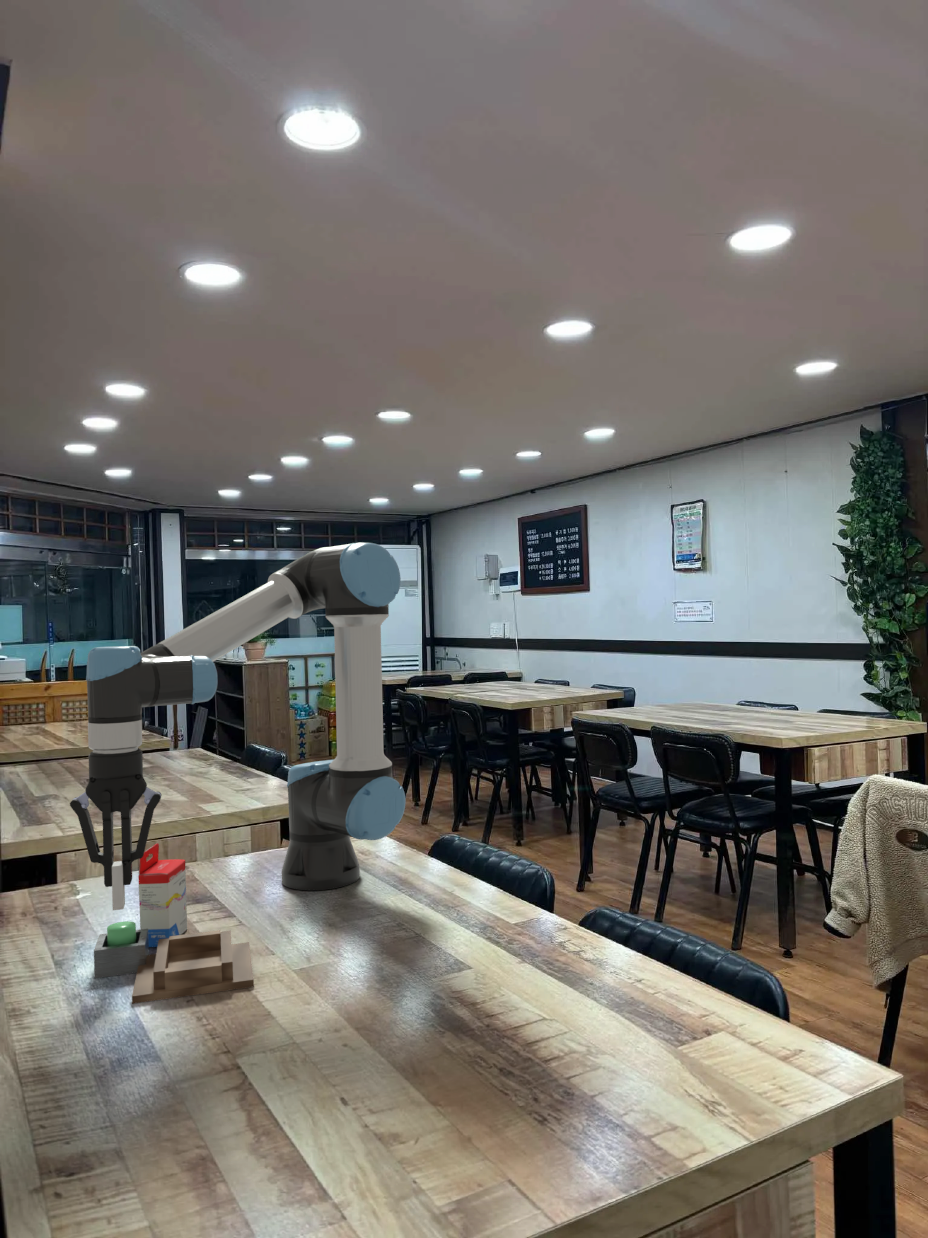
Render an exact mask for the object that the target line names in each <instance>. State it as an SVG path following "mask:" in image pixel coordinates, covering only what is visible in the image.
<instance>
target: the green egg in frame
mask: <svg viewBox="0 0 928 1238" xmlns="http://www.w3.org/2000/svg"><path fill="white" fill-rule="evenodd" d="M96 941H97V942H96V944H95V946H94V949H93V963H94V964H93V965H94V967H93V968H94V971H93V972H94V979H99V978H100V979H101V978H108V977H115V976H121V975H123V976H124V975H129V974H137V970H138V966H140V965H146V960H147V955H150V949H149V948H150V947H149V938H148V929H140V928H139V929H136V943H134V944H126V945H118V946H110V947H108V941H107V933H100V934H98V938H97V940H96Z"/></svg>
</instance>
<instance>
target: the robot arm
mask: <svg viewBox="0 0 928 1238" xmlns="http://www.w3.org/2000/svg"><path fill="white" fill-rule="evenodd" d="M400 588H401V572H400V568H399V566H398V562H397V560H396V559H395V557H394V556H393V555H392V554H391V553H390V552H389V551H388V550H387V549H386V548H385V547H384V546H382V545H379V544H377V543H373V542H352V543H348V544H347V543H346V544H341V545H334V546H324V547H319V548H317V549H314V550H312V551H310V552H307V554H305V555H303V556H301V557H299V558H297V559H295V560H294V561H292V562H291V563H289V564H287V565H285V566H284V567H282V568H280V569H279V570H277V571H275V572H273V573H272V574H270V575H269V576H268V579H267V582H266V583H265V584H262V585H260V586H259V587H256V588H255V589H254V590H252V591H250V592H248V593H247V594H245V595H243V596H242V597H239V598H237V599H236V600H233V602H230V603H229V604H227V605H225V606H223V607H221V608H220V609H217V610H216V611H214V612H212V613H211V614H208V615H207V616H204V618H202V619H199V620H198V621H196V622H194V623H192V624H191V625H188V626H187V627H185V628H184V629H182V630H180V631H178V632H176V633H175V634H173V635H171V636H169V637H167V638H165V639H164V640H162V641H160V642H158V643H157V644H155V645H152V646H151V647H149V648H147V649H146V650H144V651H142V652H141V649H140V648H139V647H138V646H135V645H128V646H127V645H126V646H125V645H122V646H98V647H96V646H95V647H93V648H91V649H90V650H89V651H88V654H87V661H86V676H85V681H86V691H87V693H86V694H87V711H88V712H87V715H88V716H87V717H88V718H87V741H88V742H87V743H88V744H87V745H88V747H87V748H89V749H90V750H92V751H91V752H90V753H89V754H88V783H87V785H86V787H85V791H84V792H82V794H80V795H79V796H75V797H74V798H72V799H71V801H70V802H69V806H70V808H71V809H72V811H73V812H74V813H75V814H76V815H77V818H78V822H79V825H80V829H81V832H82V836H83V839H84V843H85V847H86V850H87V852H88V857H89V860H90V862H91V863H96V864H100V865H101V866H103V883H104V887H105V888H108V887H109V888H110V887H111V892H112V893H111V894H112V901H111V903H112V911H119V910H124V909H125V905H126V892H125V891H126V890H125V889H126V886H129V885H131V883H132V881H133V862H134V861H136V860H139V859H140V858H142V857H143V855H144V852H145V851H146V847H147V842H148V837H149V834H150V830H151V824H152V822H153V821H152V820H153V815H154V813H155V809H156V807H157V806H158V804H159V803H160V801H161V799H162V793H161V792H160V791H155V790H153V789H151V788H149V787H148V784H147V781H146V780H145V778H144V767H143V765H144V764H143V758H144V757H143V751H142V749H141V748H139V747H140V746H142V745H143V714H142V713H143V708H150V707H158V706H174V705H184V704H185V705H186V704H191V705H194V704H195V703H197V704H198V703H205V702H209V701H210V700H211V699H213V698H214V696H215V694H216V692H217V689H218V683H219V682H218V671H217V668H216V665H215V663H214V662H215V661H217V660H218V659H221V658H222V657H224V656H225V655H227V654H228V653H231V652H232V651H234V650H235V649H237V648H239V647H240V646H242V645H244V644H246V643H247V642H249V641H250V640H252V639H254V638H256V637H257V636H259V635H260V634H263V633H264V632H266V631H268V630H269V629H271V628H272V627H274V626H276V625H277V624H279V623H281V622H283V621H284V620H286V619H288V618H289V619H292V620H293V619H295V620H296V619H298V618H300V617H302V616H303V615H305V614H307V613H311V612H312V611H317V610H321V609H325V618H326V620H328V621H329V623H331V625H332V626H333V629H334V630H333V631H334V633H333V634H334V636H333V637H334V672H335V673H334V674H335V675H334V676H335V677H334V678H335V682H334V683H335V684H334V685H335V715H336V716H335V718H336V719H335V720H336V721H335V722H336V726H335V727H336V756H335V758H334V759H326V760H325V759H324V760H319V761H318V760H317V761H312V762H305V763H300V764H296V765H295V764H294V765H293V766H291V767H290V768H289V770H288V773H287V774H288V775H287V784H286V788H287V797H288V798H287V799H288V826H289V843H288V846H287V851H286V854H285V857H284V860H283V865H282V867H281V884H282V885H283V886H285V887H286V888H288V889H293V890H299V891H323V890H331V889H337V888H342V887H345V886H348V885H350V884H351V885H352V884H353V883H356V881H358V880H359V879H360V875H361V872H360V871H361V869H360V863H359V860H358V857H357V854H356V851H355V848H354V846H353V843H352V840H351V838H353V839H356V840H366V841H378V840H381V839H383V838H386V837H387V836H388V835H390V834H391V833H392V832H393V831H395V828H396V826H397V825H399V824H400V823H401V820H402V818H403V816H404V813H405V810H406V802H407V801H406V793H405V791H404V788H403V786H402V785H400V782H399V781H398V780H397V779H395V778H394V777H393V762H392V761H391V760H390V758H388V757H387V756H386V755H385V753H384V719H383V718H384V717H383V716H384V715H383V714H384V713H383V712H384V711H383V706H384V705H383V673H382V672H383V667H382V666H383V665H382V663H383V661H382V628H381V627H382V625H383V623H384V622H385V621H386V620H387V618H388V617H389V616H390V615H389V608H390V607H389V604H391V602H393V601H394V600H395V598H396V595H398V593H399V591H400ZM142 796H144V799H143V803H144V804H145V805H146V807H145V810H144V814H143V818H142V822H141V827H140V831H139V835H138V840H137V842H136V843H137V844H136V849H133V841H132V840H133V837H132V835H133V833H132V809H134V807H135V806H136V805H137V803H138V802H139V800H140V799H141V797H142ZM89 799H90V801H91V802H92V803H93V804H94V805H95V807H96V808H97V809H98V810H99V811H100V812H101V820H102V852H101V848H100V846H99V842H98V839H97V836H96V832H95V829H94V825H93V822H92V818H91V815H90V811H89V808H88V807H89V806H90V801H89ZM115 812H118V813H120V824H121V826H120V827H121V828H120V829H121V830H120V832H121V860H118V861H114V859H115V854H114V850H115V849H114V847H115V846H114V843H115V842H114V813H115Z"/></svg>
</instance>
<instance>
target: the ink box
mask: <svg viewBox="0 0 928 1238" xmlns="http://www.w3.org/2000/svg"><path fill="white" fill-rule="evenodd" d="M159 850H160V844H159V842H156V843H155V844H154V845H152V846H151V847H149V848H147V849H145V851H144V855H143V857H142V858H140V859H138V876H137V877H138V896H139V897H138V898H139V899H138V900H139V901H138V902H139V930H140V929H148V938H149V948H157V947H158V941H159V939H165V938H169V936H176V935H184V934H185V932H186V930H187V929H188V911H187V879H186V877H187V876H186V875H187V873H186V859H183V858H182V859H181V858H180V859H179V858H178V859H177V858H176V859H174V858H171V859H159V853H160V851H159ZM150 855H151V857H150ZM148 857H150V858H149V859H148V860H147V858H148Z"/></svg>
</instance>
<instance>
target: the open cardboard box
mask: <svg viewBox="0 0 928 1238" xmlns="http://www.w3.org/2000/svg"><path fill="white" fill-rule="evenodd" d="M231 932H232V931H231V930H223V931H221V929H220V930H219V929H218V930H210V931H203V932H194V933H183V934H182V935H176V936H169V938H165V939H159V941H158V947H156V953H154V954H153V953H152V954H149V955H147V960H146V965H140V966H138V970H137V973H136V974H135V975H136V976H135V981H134V984H133V988H132V990H133V991H132V993H131V994H132V995H131V1004H132V1005H133V1004H139V1003H140V1004H141V1003H146V1002H155V1001H161V1000H169V999H177V998H182V997H183V998H184V997H190V996H197V995H204V994H205V995H206V994H211V993H218V992H226V991H233V990H234V991H235V990H240V989H247V988H253V987H255V984H254V983H255V982H254V973H253V963H252V955H251V947H250V946H251V945H250V941H249V942H248V941H247V942H240V943H239V942H237V943H232V933H231Z"/></svg>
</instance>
